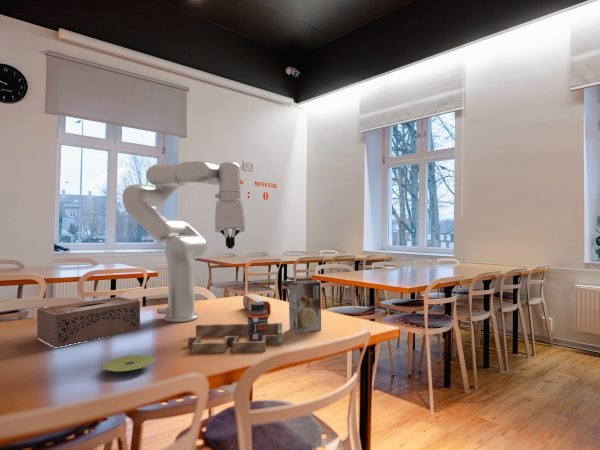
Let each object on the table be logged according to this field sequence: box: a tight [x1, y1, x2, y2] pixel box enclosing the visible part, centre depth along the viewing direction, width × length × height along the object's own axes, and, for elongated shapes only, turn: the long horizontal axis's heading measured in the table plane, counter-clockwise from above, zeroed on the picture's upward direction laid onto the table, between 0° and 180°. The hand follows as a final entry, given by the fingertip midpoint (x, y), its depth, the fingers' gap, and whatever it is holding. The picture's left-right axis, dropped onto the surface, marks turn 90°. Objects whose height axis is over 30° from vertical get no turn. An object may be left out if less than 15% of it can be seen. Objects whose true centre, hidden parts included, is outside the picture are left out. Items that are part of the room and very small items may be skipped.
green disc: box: [102, 354, 155, 372], centre depth 93 cm, size 11×11×2 cm
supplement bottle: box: [247, 302, 269, 342], centre depth 116 cm, size 6×6×11 cm
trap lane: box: [187, 322, 283, 354], centre depth 114 cm, size 27×17×4 cm, turn 93°
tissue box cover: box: [36, 296, 141, 347], centre depth 125 cm, size 26×14×10 cm, turn 142°
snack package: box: [242, 293, 272, 317], centre depth 155 cm, size 21×7×7 cm, turn 21°
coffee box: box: [288, 279, 322, 334], centre depth 128 cm, size 9×6×16 cm
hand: (230, 248), depth 137 cm, fingers closed
